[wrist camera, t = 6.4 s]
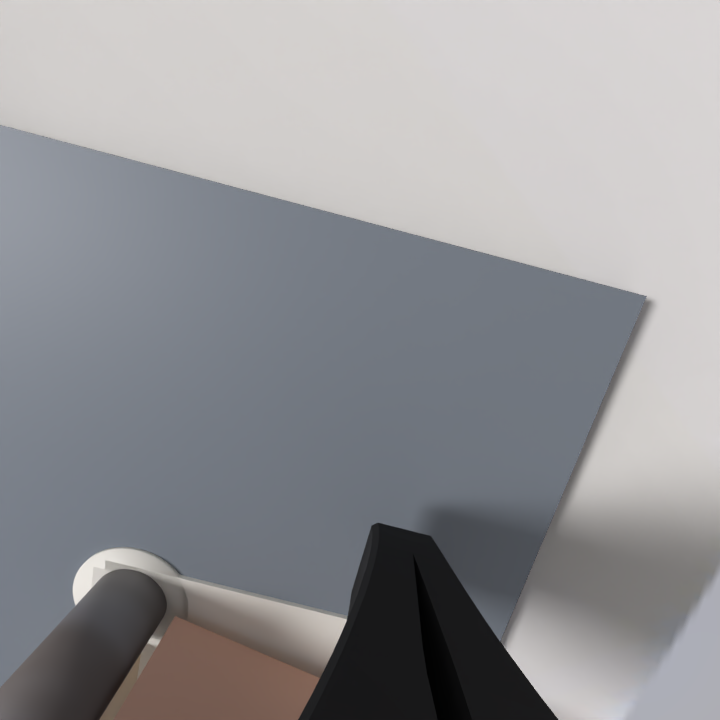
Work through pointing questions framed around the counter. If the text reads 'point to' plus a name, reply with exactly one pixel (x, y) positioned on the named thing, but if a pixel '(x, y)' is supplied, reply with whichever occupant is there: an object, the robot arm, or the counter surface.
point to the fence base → (88, 654)
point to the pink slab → (214, 681)
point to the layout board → (268, 401)
